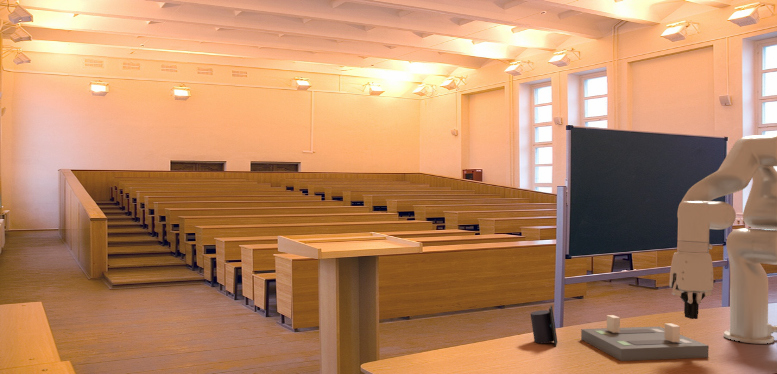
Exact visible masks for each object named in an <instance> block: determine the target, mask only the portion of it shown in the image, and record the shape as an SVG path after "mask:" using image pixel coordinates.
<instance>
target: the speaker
mask: <svg viewBox="0 0 777 374" xmlns="http://www.w3.org/2000/svg"><path fill="white" fill-rule="evenodd" d="M529 315H530V319H531V320H530V321H531V327H532V333H533V341H534V343H536V344H548V343H553V345H554V346H553V347H557V345H558V336H557V335H558V334H557V331H556V323H555V317H554V310H553V305H552V304H551V305H550V306H549V309H546V310H545V309H544V310H542V309H541V310H536V311H531V313H530V314H529Z"/></svg>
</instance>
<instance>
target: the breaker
mask: <svg viewBox="0 0 777 374" xmlns="http://www.w3.org/2000/svg"><path fill="white" fill-rule="evenodd" d="M606 328H607V330H609V331H611V332H620V328H621V317H619V316H617V315H614V314H611V315H609V314H607V315H606Z"/></svg>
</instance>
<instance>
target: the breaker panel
mask: <svg viewBox="0 0 777 374" xmlns="http://www.w3.org/2000/svg"><path fill="white" fill-rule="evenodd" d="M580 332H581V334H580V335H581V341H584V342H586V343H587V344H589V345H591V346H592V347H594V348H596V349H599V350H600V351H601V352H604V353H605V354H608V355H609V356H611V357H612V358H613V357H614V359H616V360H618V361H621V362H625V361H626V362H628V361H647V360H648V361H650V360H651V361H652V360H654V361H655V360H656V361H657V360H674V359H675V360H676V359H680V360H681V359H698V358H699V359H702V358H709V344H705V343H703V342H700V341H697V340H695V339H693V338H690V337H687V336H686V335H682V334H680V342H671V341H669V340H667V339H665V327H661V326H634V327H632V326H631V327H629V326H628V327H627V326H626V327H620V332H611V331H609V330H607V327H605V328H603V327H602V328H581V331H580Z"/></svg>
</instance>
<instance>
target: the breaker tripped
mask: <svg viewBox="0 0 777 374" xmlns="http://www.w3.org/2000/svg"><path fill="white" fill-rule="evenodd" d="M680 326H681V325H678V324H675V323H672V322H670V323H664V328H665V339H667V340H669V341H671V342H680V335H681V331H680V330H681V329H680V328H681V327H680Z"/></svg>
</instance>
